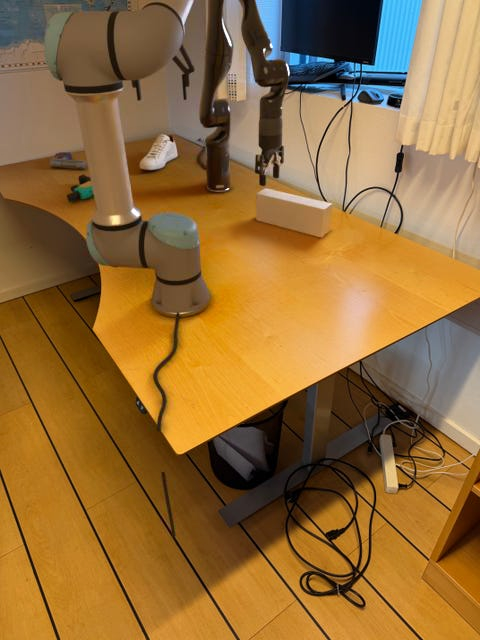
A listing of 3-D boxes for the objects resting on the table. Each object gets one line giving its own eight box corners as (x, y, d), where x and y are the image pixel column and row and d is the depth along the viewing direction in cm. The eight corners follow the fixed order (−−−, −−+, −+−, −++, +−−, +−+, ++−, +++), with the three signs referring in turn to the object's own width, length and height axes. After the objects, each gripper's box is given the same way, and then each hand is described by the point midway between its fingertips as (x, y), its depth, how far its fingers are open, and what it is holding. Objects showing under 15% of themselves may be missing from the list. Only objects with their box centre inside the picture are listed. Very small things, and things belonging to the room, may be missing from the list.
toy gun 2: (44, 189, 181) (74, 196, 175) (91, 169, 199) (119, 175, 193) (47, 200, 183) (76, 207, 178) (93, 180, 202) (121, 186, 196)
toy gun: (98, 160, 223) (83, 171, 211) (61, 158, 226) (45, 169, 214) (96, 152, 220) (81, 162, 208) (59, 150, 223) (43, 160, 212)
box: (329, 231, 159) (332, 203, 153) (321, 237, 155) (324, 209, 150) (265, 214, 171) (265, 188, 165) (256, 220, 167) (256, 193, 161)
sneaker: (133, 173, 208) (129, 144, 201) (161, 153, 230) (158, 127, 223) (155, 175, 205) (151, 146, 198) (180, 155, 227) (178, 129, 220)
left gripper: (200, 13, 132) (204, 96, 144) (110, 14, 132) (122, 97, 144) (199, 14, 126) (203, 101, 138) (105, 16, 126) (118, 102, 138)
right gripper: (272, 124, 156) (270, 173, 166) (248, 134, 147) (248, 186, 156) (291, 127, 153) (289, 177, 162) (268, 138, 143) (267, 190, 153)
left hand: (162, 99), depth 141 cm, fingers open, 13 cm apart
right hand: (269, 181), depth 159 cm, fingers open, 8 cm apart
